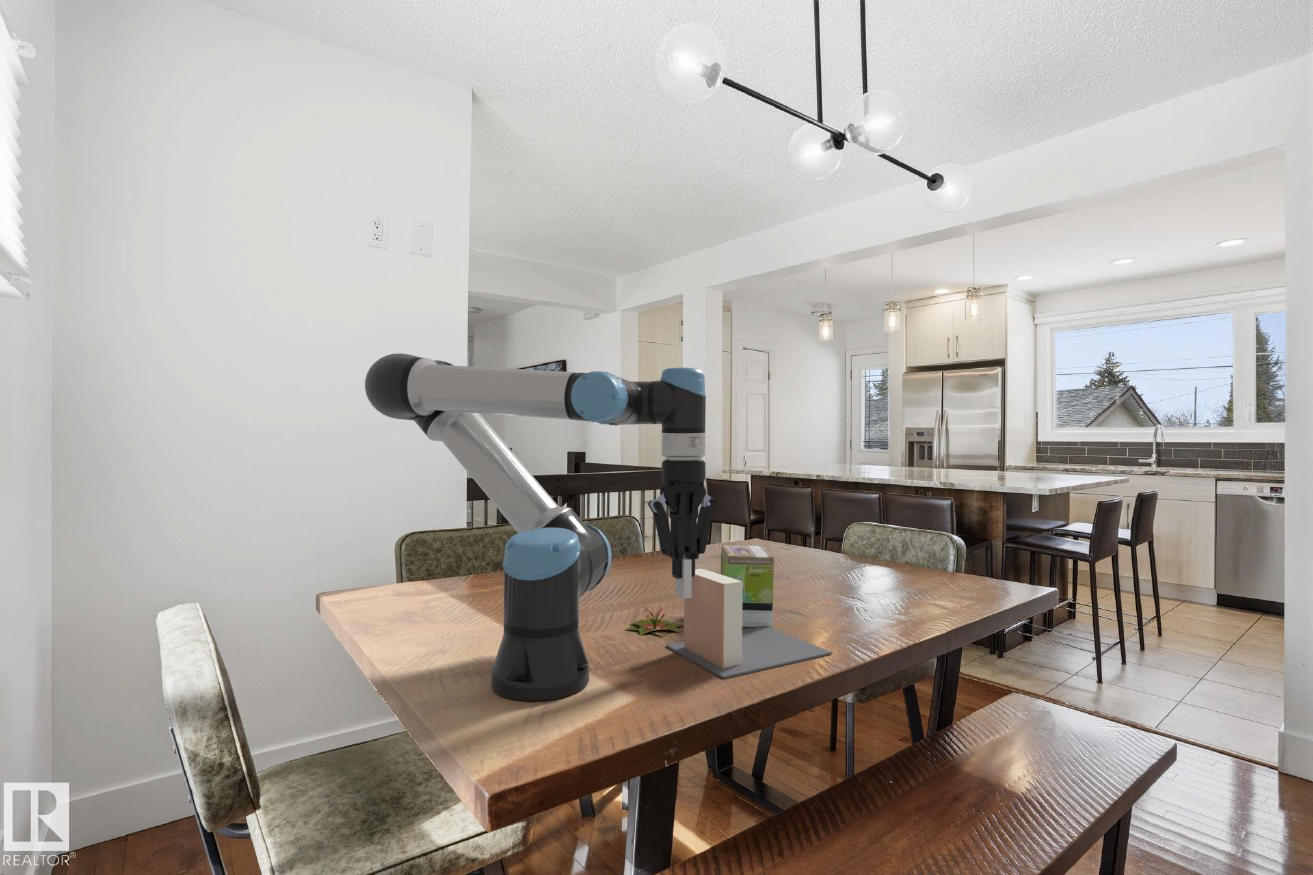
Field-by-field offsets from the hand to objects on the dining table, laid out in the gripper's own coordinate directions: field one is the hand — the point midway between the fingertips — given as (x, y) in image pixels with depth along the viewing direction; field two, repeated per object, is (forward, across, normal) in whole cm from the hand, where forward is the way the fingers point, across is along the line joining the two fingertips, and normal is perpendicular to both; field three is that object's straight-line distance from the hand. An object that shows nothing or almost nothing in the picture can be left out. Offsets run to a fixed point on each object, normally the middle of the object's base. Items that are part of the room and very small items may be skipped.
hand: (683, 596), depth 106 cm
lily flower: (+12, +6, +20) cm, 24 cm away
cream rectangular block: (+11, +6, 0) cm, 13 cm away
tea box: (+12, +27, +18) cm, 34 cm away
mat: (+12, +14, 0) cm, 18 cm away
